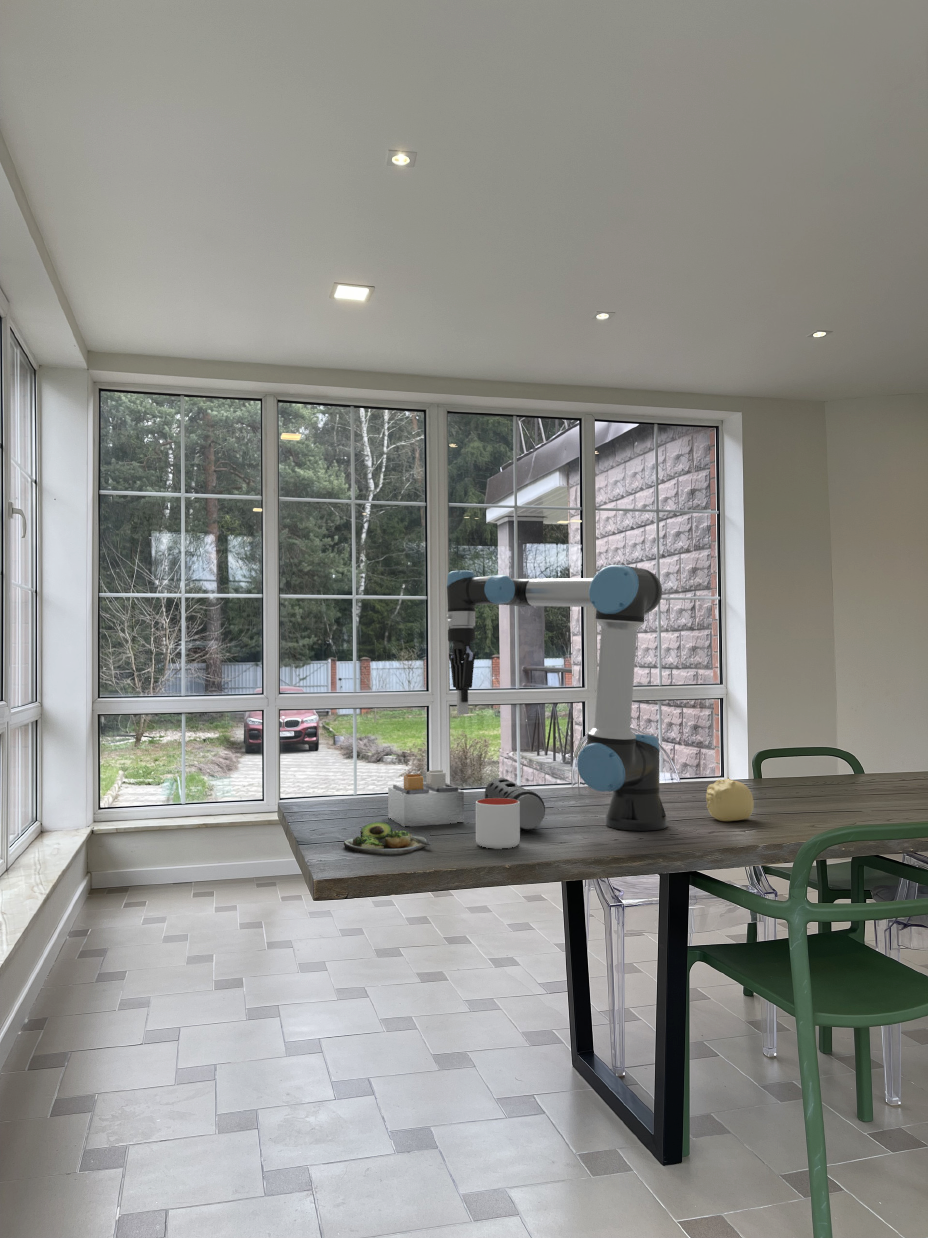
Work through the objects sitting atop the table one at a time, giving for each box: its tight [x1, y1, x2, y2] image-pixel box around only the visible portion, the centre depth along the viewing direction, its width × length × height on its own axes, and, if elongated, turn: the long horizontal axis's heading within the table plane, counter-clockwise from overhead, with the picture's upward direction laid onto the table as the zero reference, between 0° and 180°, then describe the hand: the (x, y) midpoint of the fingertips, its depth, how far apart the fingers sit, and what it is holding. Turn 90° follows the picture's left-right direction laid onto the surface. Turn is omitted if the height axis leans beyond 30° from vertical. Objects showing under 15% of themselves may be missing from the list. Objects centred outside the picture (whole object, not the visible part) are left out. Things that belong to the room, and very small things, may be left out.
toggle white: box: [425, 769, 447, 787], centre depth 246 cm, size 4×4×4 cm
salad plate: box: [343, 821, 433, 855], centre depth 208 cm, size 19×18×5 cm
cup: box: [475, 798, 521, 850], centre depth 210 cm, size 10×10×10 cm
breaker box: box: [387, 782, 465, 828], centre depth 241 cm, size 14×16×9 cm
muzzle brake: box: [484, 777, 546, 831], centre depth 235 cm, size 10×28×10 cm, turn 12°
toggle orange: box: [403, 773, 424, 790], centre depth 238 cm, size 4×4×4 cm
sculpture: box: [705, 778, 755, 822], centre depth 241 cm, size 12×12×11 cm
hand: (462, 714), depth 251 cm, fingers closed
